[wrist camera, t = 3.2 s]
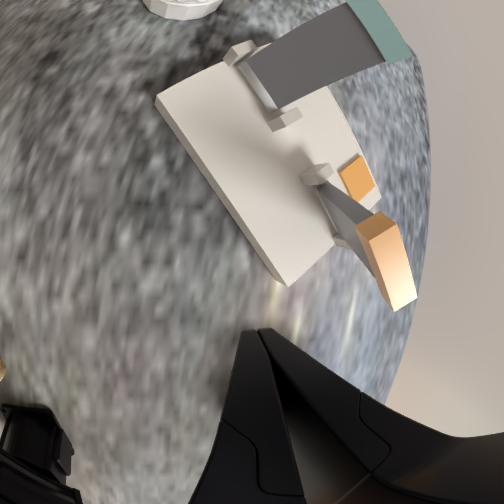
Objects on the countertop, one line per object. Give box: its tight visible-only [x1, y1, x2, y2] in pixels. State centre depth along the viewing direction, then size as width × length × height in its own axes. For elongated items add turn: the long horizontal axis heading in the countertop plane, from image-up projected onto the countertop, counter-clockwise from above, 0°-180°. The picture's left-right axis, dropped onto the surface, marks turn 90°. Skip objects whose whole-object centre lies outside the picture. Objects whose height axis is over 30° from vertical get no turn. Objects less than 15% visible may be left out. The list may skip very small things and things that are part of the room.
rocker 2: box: [313, 180, 417, 312], centre depth 15 cm, size 1×4×10 cm, turn 35°
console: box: [155, 40, 381, 287], centre depth 18 cm, size 12×16×4 cm
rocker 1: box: [238, 0, 413, 114], centre depth 12 cm, size 1×4×10 cm, turn 35°
